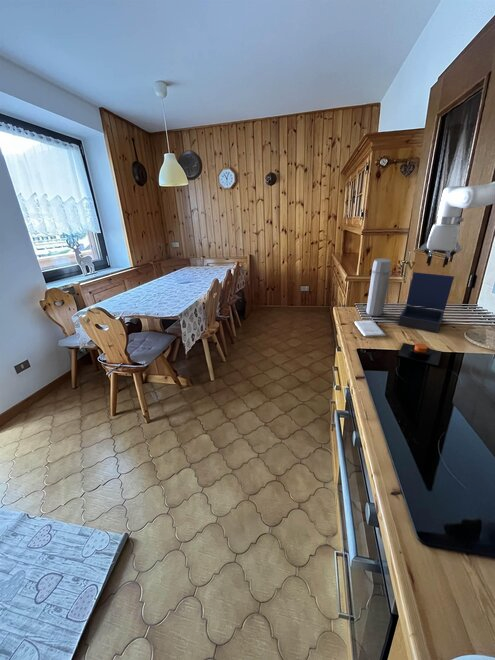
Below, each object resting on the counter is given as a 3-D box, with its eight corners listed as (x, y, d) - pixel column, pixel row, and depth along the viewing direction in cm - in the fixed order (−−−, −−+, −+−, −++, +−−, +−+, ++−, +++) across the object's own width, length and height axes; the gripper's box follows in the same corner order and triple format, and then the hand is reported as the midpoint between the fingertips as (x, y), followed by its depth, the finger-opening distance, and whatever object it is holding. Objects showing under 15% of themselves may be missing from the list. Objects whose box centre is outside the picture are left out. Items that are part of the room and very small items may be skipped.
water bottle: (361, 313, 133) (369, 260, 122) (373, 309, 136) (381, 257, 125) (378, 319, 126) (387, 264, 114) (390, 315, 129) (400, 261, 117)
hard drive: (373, 323, 123) (385, 337, 112) (354, 324, 123) (364, 338, 112) (373, 320, 122) (385, 333, 111) (354, 321, 122) (364, 334, 111)
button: (427, 349, 98) (428, 345, 97) (425, 354, 95) (426, 349, 94) (415, 346, 100) (416, 342, 99) (413, 351, 97) (414, 346, 96)
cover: (454, 276, 114) (454, 276, 114) (413, 272, 122) (413, 272, 122) (444, 310, 119) (444, 310, 120) (406, 304, 127) (406, 303, 128)
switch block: (440, 354, 99) (442, 347, 97) (437, 368, 92) (439, 361, 90) (402, 345, 105) (404, 338, 104) (396, 358, 98) (398, 351, 97)
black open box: (437, 333, 112) (440, 323, 110) (397, 325, 120) (399, 315, 118) (441, 320, 122) (444, 311, 120) (404, 313, 130) (406, 305, 128)
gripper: (474, 220, 111) (460, 265, 119) (424, 219, 120) (415, 262, 128) (473, 222, 105) (459, 270, 114) (421, 221, 115) (412, 266, 123)
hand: (436, 265), depth 121 cm, fingers open, 4 cm apart
